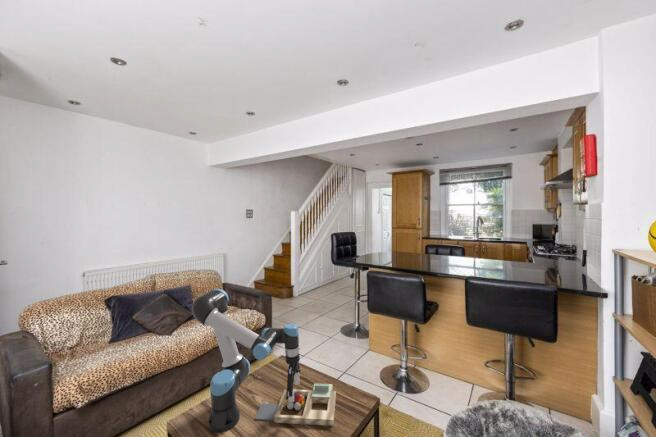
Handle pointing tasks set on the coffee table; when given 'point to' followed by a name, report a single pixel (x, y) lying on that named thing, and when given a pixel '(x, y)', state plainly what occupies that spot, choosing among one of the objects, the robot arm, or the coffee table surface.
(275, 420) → the board
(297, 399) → the rainbow toy vehicle
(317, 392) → the lid
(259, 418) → the mat
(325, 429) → the coffee table surface
